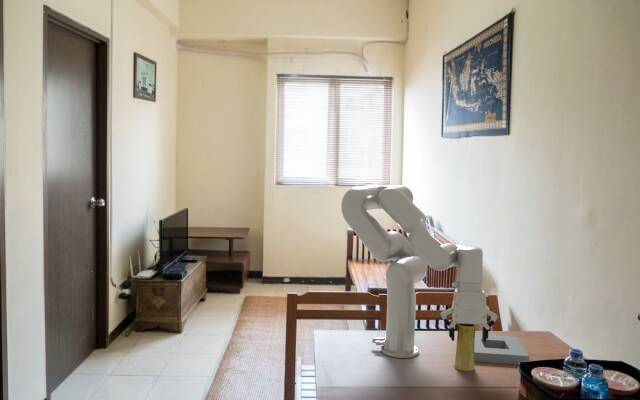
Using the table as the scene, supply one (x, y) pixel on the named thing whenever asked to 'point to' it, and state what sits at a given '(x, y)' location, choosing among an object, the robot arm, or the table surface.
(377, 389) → the table surface
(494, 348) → the socket plate
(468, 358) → the vase
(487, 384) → the table surface
